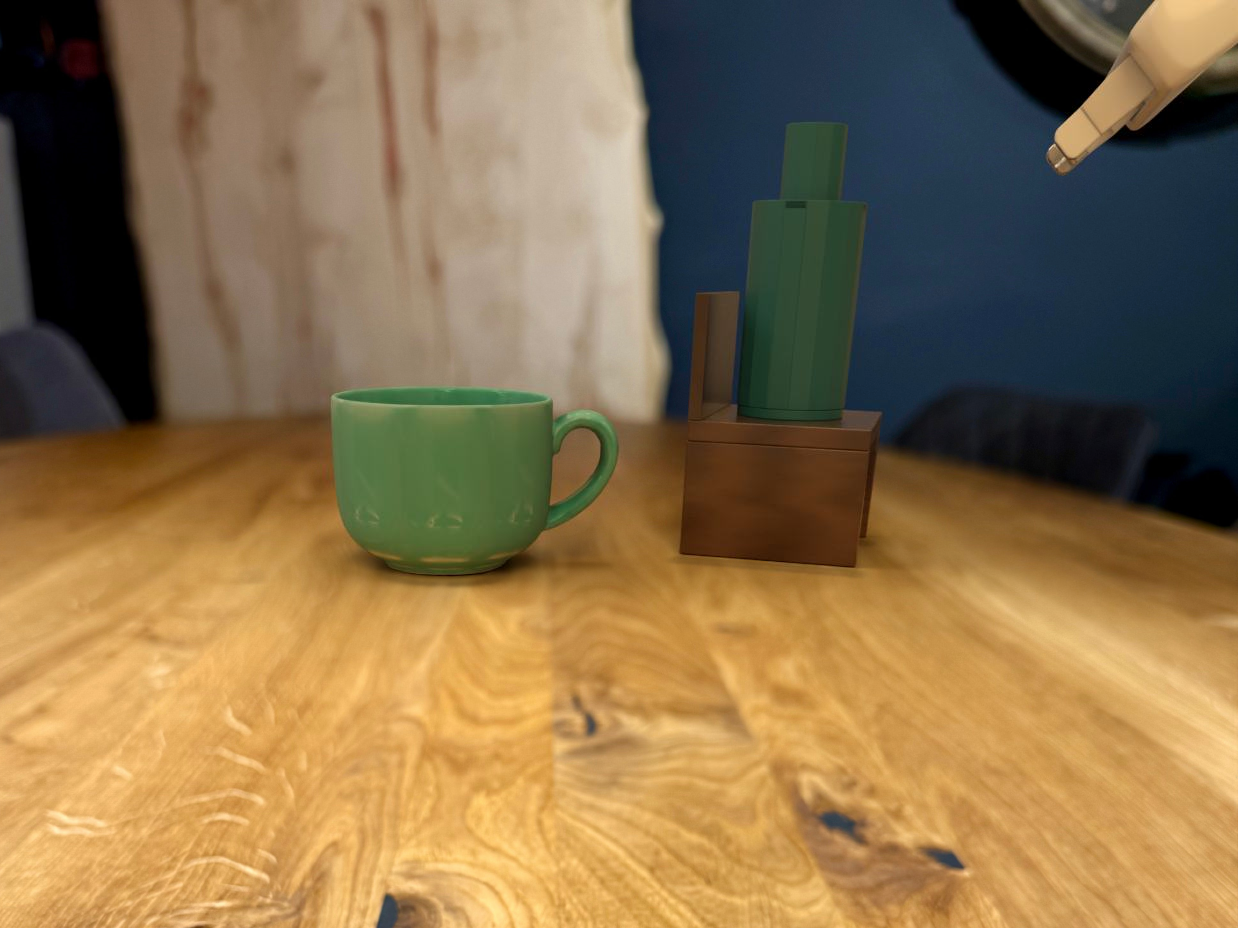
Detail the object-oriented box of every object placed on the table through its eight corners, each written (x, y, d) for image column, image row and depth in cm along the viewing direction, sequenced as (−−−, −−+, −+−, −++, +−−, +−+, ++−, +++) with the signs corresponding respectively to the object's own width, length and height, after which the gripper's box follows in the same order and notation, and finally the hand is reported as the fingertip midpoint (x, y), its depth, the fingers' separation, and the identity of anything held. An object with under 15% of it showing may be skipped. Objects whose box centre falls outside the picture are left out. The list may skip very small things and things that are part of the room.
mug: (322, 583, 73) (312, 401, 69) (353, 540, 84) (346, 382, 80) (618, 590, 73) (627, 409, 69) (610, 547, 84) (616, 390, 80)
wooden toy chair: (866, 533, 91) (897, 295, 84) (854, 567, 80) (887, 298, 74) (710, 522, 93) (727, 290, 87) (679, 553, 83) (696, 292, 76)
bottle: (852, 414, 85) (885, 129, 78) (829, 423, 80) (862, 117, 73) (752, 407, 87) (776, 130, 80) (723, 416, 82) (746, 119, 75)
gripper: (1222, -63, 76) (1017, 133, 83) (1295, -174, 58) (1027, 87, 65) (1286, 26, 77) (1078, 213, 83) (1377, -56, 59) (1104, 189, 66)
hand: (1056, 158), depth 74 cm, fingers open, 8 cm apart
